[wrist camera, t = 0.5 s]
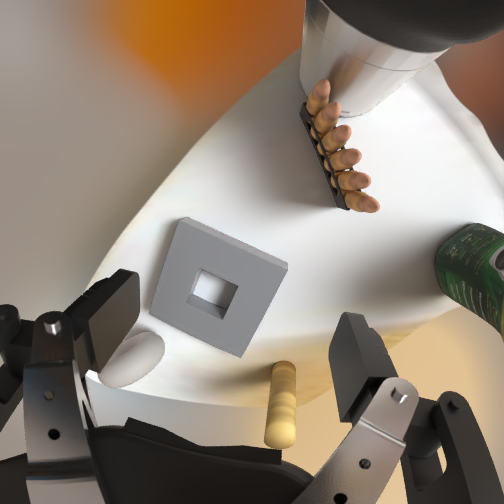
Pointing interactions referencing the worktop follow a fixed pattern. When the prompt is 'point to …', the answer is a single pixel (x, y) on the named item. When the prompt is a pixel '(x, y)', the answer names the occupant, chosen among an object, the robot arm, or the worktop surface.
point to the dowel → (281, 407)
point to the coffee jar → (474, 272)
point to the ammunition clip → (336, 162)
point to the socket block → (226, 267)
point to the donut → (133, 360)
